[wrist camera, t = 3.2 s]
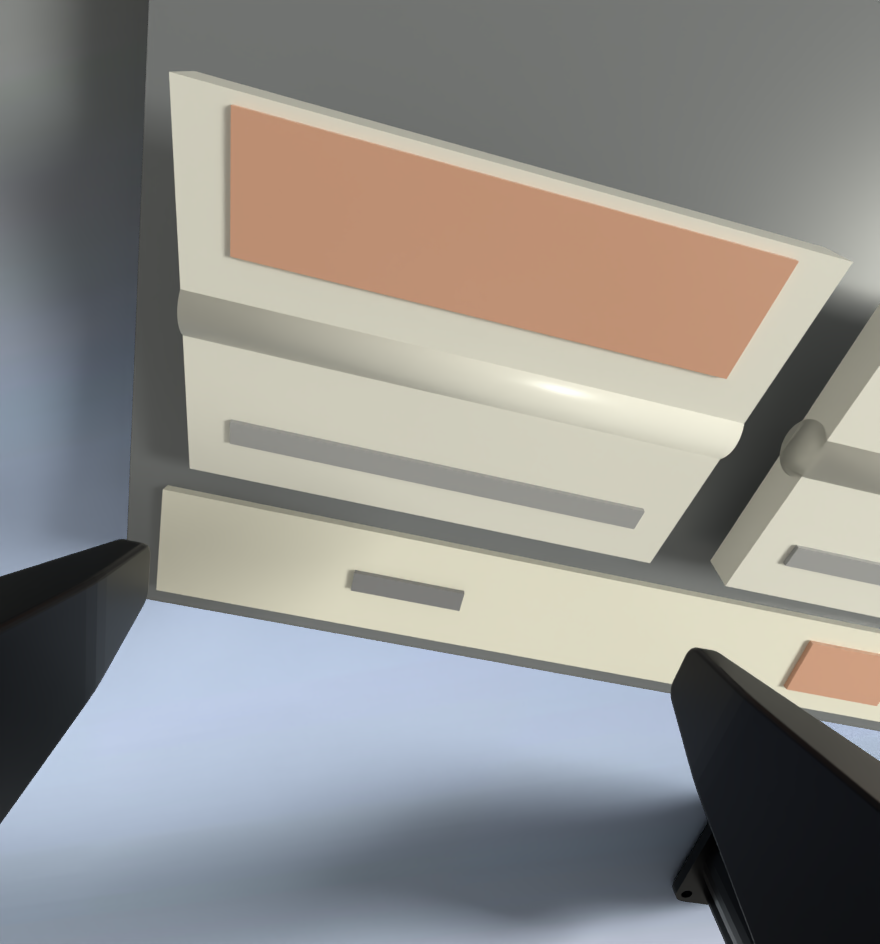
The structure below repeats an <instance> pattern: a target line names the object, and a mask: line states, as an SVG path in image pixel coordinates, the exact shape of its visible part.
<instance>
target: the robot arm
mask: <svg viewBox="0 0 880 944" xmlns="http://www.w3.org/2000/svg"><path fill="white" fill-rule="evenodd" d="M149 573H150V548H149V546H148V545H147V544H145V543H141V542H136V541H131V540H125V539H119V540H115V541H112V542H109V543H106V544H103V545H99V546H96V547H93V548H90V549H87V550H84V551H80V552H77V553H74V554H71V555H68V556H64V557H61V558H58V559H55V560H52V561H48V562H45V563H42V564H39V565H36V566H32V567H29V568H26V569H23V570H20V571H17V572H13V573H10V574H7V575H4V576H1V577H0V824H1V822H2V821H3V819H4V818H5V817H6V815H7V814H8V812H9V811H10V810H11V808H12V807H13V805H14V804H15V803H16V801H17V800H18V798H19V797H20V796H21V794H22V793H23V791H24V790H25V789H26V787H27V786H28V784H29V783H30V782H31V780H32V779H33V778H34V776H35V775H36V773H37V772H38V771H39V769H40V768H41V766H42V765H43V764H44V762H45V761H46V759H47V758H48V757H49V755H50V754H51V752H52V751H53V750H54V748H55V747H56V745H57V744H58V743H59V741H60V740H61V738H62V737H63V736H64V734H65V733H66V731H67V730H68V729H69V727H70V726H71V724H72V723H73V722H74V720H75V719H76V717H77V716H78V715H79V713H80V712H81V710H82V709H83V708H84V706H85V705H86V703H87V702H88V700H89V699H90V697H91V696H92V694H93V693H94V692H95V690H96V688H97V687H98V685H99V683H100V682H101V680H102V678H103V677H104V675H105V673H106V671H107V670H108V668H109V666H110V664H111V662H112V661H113V659H114V657H115V655H116V653H117V652H118V650H119V648H120V646H121V645H122V643H123V641H124V639H125V637H126V636H127V634H128V632H129V630H130V628H131V627H132V625H133V623H134V621H135V620H136V618H137V616H138V614H139V612H140V611H141V609H142V607H143V605H144V603H145V601H146V598H147V595H148V589H149ZM670 693H671V701H672V704H673V708H674V711H675V715H676V719H677V722H678V726H679V730H680V733H681V737H682V741H683V744H684V748H685V752H686V755H687V759H688V763H689V766H690V770H691V773H692V777H693V780H694V783H695V786H696V789H697V792H698V795H699V798H700V801H701V803H702V806H703V809H704V811H705V814H706V817H707V819H708V824H707V826H706V828H705V829H704V831H703V833H702V834H701V836H700V838H699V840H698V841H697V843H696V845H695V846H694V848H693V850H692V852H691V853H690V855H689V857H688V858H687V860H686V862H685V864H684V865H683V867H682V869H681V870H680V872H679V874H678V876H677V877H676V879H675V881H674V882H673V885H672V887H673V890H674V893H675V895H676V898H677V899H678V900H681V901H685V902H693V903H700V904H707V905H709V907H710V909H711V911H712V914H713V916H714V918H715V921H716V923H717V925H718V927H719V930H720V932H721V934H722V937H723V939H724V941H725V944H880V761H879V760H877V759H876V758H874V757H873V756H871V755H870V754H868V753H867V752H865V751H864V750H862V749H861V748H859V747H858V746H856V745H855V744H853V743H852V742H850V741H849V740H847V739H846V738H845V737H843V736H842V735H840V734H839V733H837V732H836V731H834V730H833V729H831V728H830V727H828V726H827V725H825V724H824V723H822V722H821V721H819V720H818V719H816V718H815V717H813V716H812V715H810V714H809V713H808V712H806V711H805V710H803V709H802V708H800V707H799V706H797V705H796V704H794V703H793V702H791V701H790V700H788V699H787V698H785V697H784V696H782V695H781V694H779V693H778V692H776V691H775V690H774V689H772V688H771V687H769V686H768V685H766V684H765V683H763V682H762V681H760V680H759V679H757V678H756V677H754V676H753V675H751V674H750V673H748V672H747V671H745V670H744V669H742V668H741V667H740V666H738V665H737V664H735V663H734V662H732V661H731V660H729V659H728V658H726V657H725V656H723V655H722V654H720V653H719V652H717V651H714V650H709V649H703V648H697V647H694V648H692V649H690V650H689V651H688V652H687V654H686V655H685V657H684V660H683V662H682V664H681V666H680V668H679V670H678V672H677V674H676V676H675V678H674V680H673V682H672V685H671V692H670Z"/></svg>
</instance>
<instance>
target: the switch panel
mask: <svg viewBox="0 0 880 944" xmlns="http://www.w3.org/2000/svg"><path fill="white" fill-rule="evenodd" d="M177 71H196V72H200V73H203V74H207V75H210V76H214V77H218V78H221V79H225V80H228V81H232V82H236V83H239V84H243V85H246V86H250V87H253V88H257V89H261V90H264V91H268V92H271V93H275V94H278V95H282V96H286V97H289V98H293V99H296V100H300V101H303V102H307V103H311V104H314V105H318V106H321V107H325V108H328V109H332V110H336V111H339V112H343V113H346V114H350V115H353V116H357V117H361V118H364V119H368V120H371V121H375V122H379V123H382V124H386V125H389V126H393V127H396V128H400V129H404V130H407V131H411V132H414V133H418V134H421V135H425V136H429V137H432V138H436V139H439V140H443V141H446V142H450V143H454V144H457V145H461V146H464V147H468V148H471V149H475V150H479V151H482V152H486V153H489V154H493V155H497V156H500V157H504V158H507V159H511V160H514V161H518V162H522V163H525V164H529V165H532V166H536V167H539V168H543V169H547V170H550V171H554V172H557V173H561V174H564V175H568V176H572V177H575V178H579V179H582V180H586V181H589V182H593V183H597V184H600V185H604V186H607V187H611V188H615V189H618V190H622V191H625V192H629V193H632V194H636V195H640V196H643V197H647V198H650V199H654V200H657V201H661V202H665V203H668V204H672V205H675V206H679V207H682V208H686V209H690V210H693V211H697V212H700V213H704V214H707V215H711V216H715V217H718V218H722V219H725V220H729V221H733V222H736V223H740V224H743V225H747V226H750V227H754V228H758V229H761V230H765V231H768V232H772V233H775V234H779V235H783V236H786V237H790V238H793V239H797V240H800V241H804V242H808V243H811V244H815V245H818V246H822V247H825V248H827V249H829V250H831V251H833V252H835V253H836V254H838V255H840V256H842V257H844V258H846V259H848V260H850V261H852V262H853V263H852V264H851V266H850V267H849V269H848V270H847V272H846V273H845V275H844V276H843V278H842V279H841V281H840V282H839V284H838V285H837V287H836V288H835V290H834V291H833V293H832V294H831V296H830V297H829V298H828V300H827V301H826V303H825V304H824V306H823V307H822V309H821V310H820V312H819V313H818V315H817V316H816V318H815V319H814V321H813V322H812V324H811V325H810V327H809V328H808V330H807V331H806V333H805V334H804V336H803V337H802V339H801V340H800V341H799V343H798V344H797V346H796V347H795V349H794V350H793V352H792V353H791V355H790V356H789V358H788V359H787V361H786V362H785V364H784V365H783V367H782V368H781V370H780V371H779V373H778V374H777V376H776V377H775V379H774V380H773V382H772V383H771V384H770V386H769V387H768V389H767V390H766V392H765V393H764V395H763V396H762V398H761V399H760V401H759V402H758V404H757V405H756V407H755V408H754V410H753V411H752V413H751V414H750V416H749V417H748V419H747V420H746V422H745V423H744V427H743V431H742V434H741V437H740V439H739V441H738V443H737V445H736V447H735V448H734V449H733V451H732V452H731V453H730V454H729V455H727V456H726V457H724V458H722V459H720V460H719V462H718V463H717V465H716V466H715V468H714V469H713V470H712V472H711V473H710V475H709V476H708V478H707V479H706V481H705V482H704V484H703V485H702V487H701V488H700V490H699V491H698V493H697V494H696V496H695V497H694V499H693V500H692V502H691V503H690V505H689V506H688V508H687V509H686V511H685V512H684V513H683V515H682V516H681V518H680V519H679V521H678V522H677V524H676V525H675V527H674V528H673V530H672V531H671V533H670V534H669V536H668V537H667V539H666V540H665V542H664V543H663V545H662V546H661V548H660V549H659V551H658V552H657V554H656V555H655V556H654V558H653V559H652V561H651V562H650V563H647V562H642V561H637V560H632V559H627V558H622V557H617V556H613V555H608V554H603V553H598V552H593V551H588V550H583V549H579V548H574V547H569V546H564V545H559V544H554V543H549V542H545V541H540V540H535V539H530V538H525V537H520V536H515V535H511V534H506V533H501V532H496V531H491V530H486V529H481V528H477V527H472V526H467V525H462V524H457V523H452V522H447V521H443V520H438V519H433V518H428V517H423V516H418V515H413V514H409V513H404V512H399V511H394V510H389V509H384V508H379V507H375V506H370V505H365V504H360V503H355V502H350V501H345V500H341V499H336V498H331V497H326V496H321V495H316V494H311V493H307V492H302V491H297V490H292V489H287V488H282V487H277V486H273V485H268V484H263V483H258V482H253V481H248V480H243V479H239V478H234V477H229V476H224V475H219V474H214V473H209V472H205V471H200V470H195V469H190V464H189V445H188V426H187V407H186V388H185V369H184V350H183V335H182V334H181V332H180V329H179V326H178V319H177V305H178V297H179V292H180V274H179V254H178V235H177V216H176V197H175V178H174V159H173V140H172V121H171V102H170V83H169V72H177ZM879 304H880V1H877V0H149V11H148V35H147V60H146V85H145V110H144V134H143V159H142V184H141V208H140V233H139V258H138V283H137V307H136V332H135V357H134V382H133V406H132V431H131V456H130V480H129V505H128V530H127V540H131V541H136V542H141V543H145V544H147V545H148V546H149V548H150V573H149V589H148V595H147V598H146V599H150V600H155V601H161V602H166V603H172V604H177V605H183V606H188V607H194V608H199V609H205V610H211V611H216V612H222V613H227V614H233V615H238V616H244V617H249V618H255V619H260V620H266V621H272V622H277V623H283V624H288V625H294V626H299V627H305V628H310V629H316V630H321V631H327V632H333V633H338V634H344V635H349V636H355V637H360V638H366V639H371V640H377V641H382V642H388V643H394V644H399V645H405V646H410V647H416V648H421V649H427V650H432V651H438V652H444V653H449V654H455V655H460V656H466V657H471V658H477V659H482V660H488V661H493V662H499V663H505V664H510V665H516V666H521V667H527V668H532V669H538V670H543V671H549V672H554V673H560V674H566V675H571V676H577V677H582V678H588V679H593V680H599V681H604V682H610V683H615V684H621V685H627V686H632V687H638V688H643V689H649V690H654V691H660V692H665V693H670V692H671V685H672V682H673V680H674V678H675V676H676V674H677V672H678V670H679V668H680V666H681V664H682V662H683V660H684V657H685V655H686V654H687V652H688V651H689V650H690V649H692V648H694V647H697V648H703V649H709V650H714V651H717V652H719V653H720V654H722V655H723V656H725V657H726V658H728V659H729V660H731V661H732V662H734V663H735V664H737V665H738V666H740V667H741V668H742V669H744V670H745V671H747V672H748V673H750V674H751V675H753V676H754V677H756V678H757V679H759V680H760V681H762V682H763V683H765V684H766V685H768V686H769V687H771V688H772V689H774V690H775V691H776V692H778V693H779V694H781V695H782V696H784V697H785V698H787V699H788V700H790V701H791V702H793V703H794V704H796V705H797V706H799V707H800V708H802V709H803V710H805V711H806V712H808V713H809V714H810V715H812V716H813V717H815V718H816V719H818V720H821V721H826V722H832V723H837V724H843V725H848V726H854V727H860V728H865V729H871V730H876V731H880V618H879V617H874V616H870V615H865V614H860V613H855V612H850V611H845V610H840V609H835V608H830V607H826V606H821V605H816V604H811V603H806V602H801V601H796V600H791V599H786V598H782V597H777V596H772V595H767V594H762V593H757V592H752V591H747V590H742V589H737V588H733V587H728V586H725V585H724V583H723V581H722V580H721V578H720V576H719V575H718V573H717V571H716V570H715V568H714V566H713V565H712V563H711V561H710V560H711V559H712V557H713V556H714V554H715V553H716V551H717V550H718V548H719V547H720V545H721V544H722V542H723V541H724V539H725V538H726V536H727V535H728V533H729V532H730V530H731V529H732V527H733V525H734V524H735V522H736V521H737V519H738V518H739V516H740V515H741V513H742V512H743V510H744V509H745V507H746V506H747V504H748V503H749V501H750V500H751V498H752V497H753V495H754V494H755V492H756V491H757V489H758V488H759V486H760V484H761V483H762V481H763V480H764V478H765V477H766V475H767V474H768V472H769V471H770V469H771V468H772V466H773V465H774V463H775V462H776V460H777V459H778V457H779V456H780V449H781V445H782V443H783V440H784V438H785V436H786V435H787V433H788V432H789V431H790V429H791V428H792V427H793V426H794V425H796V424H797V423H799V422H801V421H803V419H804V418H805V416H806V415H807V413H808V412H809V410H810V409H811V407H812V405H813V404H814V402H815V401H816V399H817V398H818V396H819V395H820V393H821V392H822V390H823V389H824V387H825V386H826V384H827V383H828V381H829V380H830V378H831V377H832V375H833V374H834V372H835V371H836V369H837V367H838V366H839V364H840V363H841V361H842V360H843V358H844V357H845V355H846V354H847V352H848V351H849V349H850V348H851V346H852V345H853V343H854V342H855V340H856V339H857V337H858V336H859V334H860V333H861V331H862V330H863V328H864V326H865V325H866V323H867V322H868V320H869V319H870V317H871V316H872V314H873V313H874V311H875V310H876V308H877V307H878V305H879Z"/></svg>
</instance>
